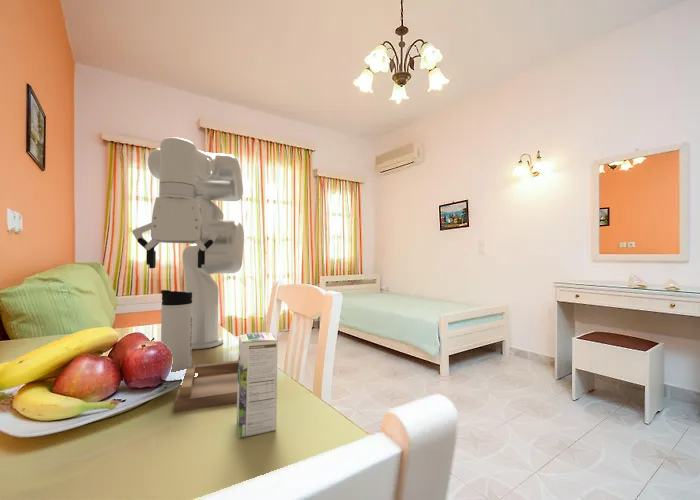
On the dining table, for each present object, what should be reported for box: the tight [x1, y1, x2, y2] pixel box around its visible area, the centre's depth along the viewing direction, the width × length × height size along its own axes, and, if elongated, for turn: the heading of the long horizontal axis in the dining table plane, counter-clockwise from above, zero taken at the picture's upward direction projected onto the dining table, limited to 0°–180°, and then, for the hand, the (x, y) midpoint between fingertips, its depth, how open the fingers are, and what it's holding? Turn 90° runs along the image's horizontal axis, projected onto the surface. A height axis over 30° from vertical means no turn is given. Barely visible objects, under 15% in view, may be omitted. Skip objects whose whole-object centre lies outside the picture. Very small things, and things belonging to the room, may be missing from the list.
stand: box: [173, 360, 238, 413], centre depth 66 cm, size 14×14×4 cm
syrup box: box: [236, 332, 279, 438], centre depth 53 cm, size 6×6×14 cm
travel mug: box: [160, 289, 193, 372], centre depth 74 cm, size 6×7×20 cm
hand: (176, 268), depth 74 cm, fingers open, 9 cm apart
